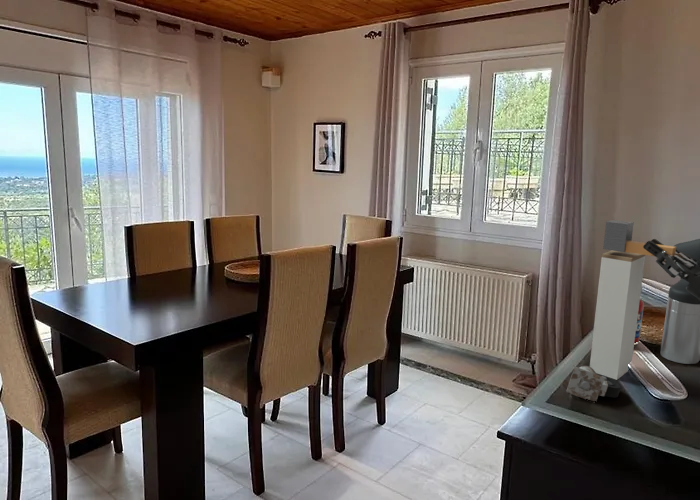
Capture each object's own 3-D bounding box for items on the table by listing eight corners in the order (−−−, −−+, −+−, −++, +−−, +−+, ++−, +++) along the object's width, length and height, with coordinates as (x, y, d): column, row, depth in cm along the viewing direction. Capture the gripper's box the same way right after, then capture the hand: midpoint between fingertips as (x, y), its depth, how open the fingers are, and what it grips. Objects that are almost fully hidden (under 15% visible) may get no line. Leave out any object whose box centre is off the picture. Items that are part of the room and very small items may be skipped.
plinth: (630, 368, 135) (645, 252, 128) (616, 379, 128) (631, 258, 121) (603, 360, 140) (616, 248, 133) (589, 370, 133) (601, 254, 126)
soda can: (612, 336, 156) (617, 290, 153) (640, 342, 152) (646, 295, 148) (606, 344, 150) (611, 296, 147) (635, 350, 146) (642, 301, 142)
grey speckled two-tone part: (613, 398, 124) (616, 412, 115) (566, 380, 129) (565, 392, 120) (622, 373, 123) (626, 386, 114) (574, 356, 128) (575, 367, 118)
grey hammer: (675, 256, 118) (679, 227, 117) (670, 259, 116) (674, 229, 114) (609, 246, 129) (612, 219, 128) (603, 249, 127) (606, 221, 125)
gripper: (737, 272, 114) (668, 226, 123) (721, 284, 105) (648, 234, 114) (713, 296, 118) (648, 250, 127) (696, 309, 109) (627, 259, 118)
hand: (648, 242), depth 120 cm, fingers closed on grey hammer, 2 cm apart
